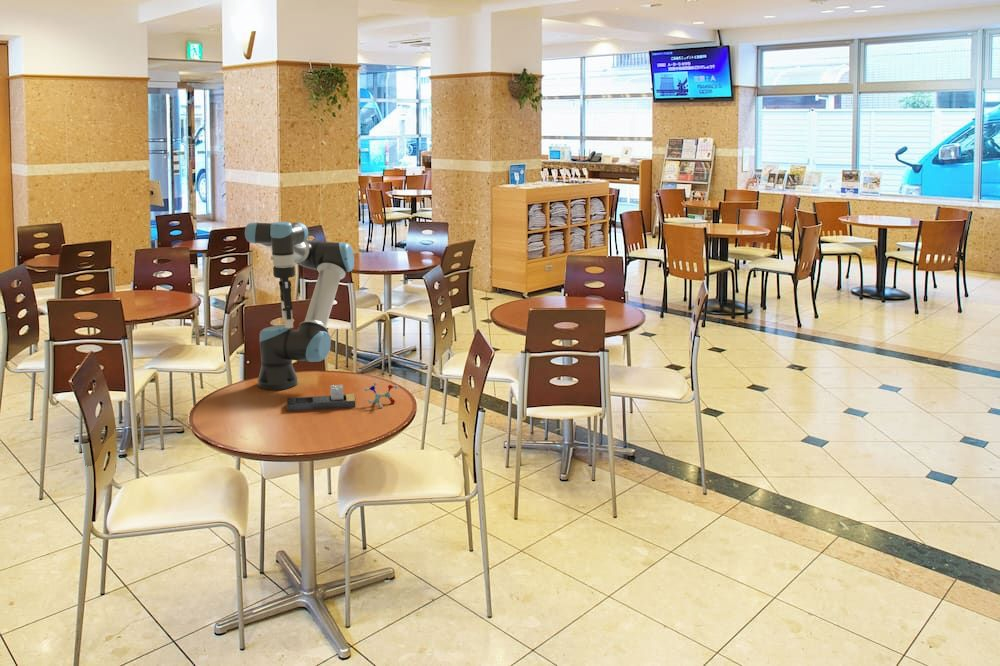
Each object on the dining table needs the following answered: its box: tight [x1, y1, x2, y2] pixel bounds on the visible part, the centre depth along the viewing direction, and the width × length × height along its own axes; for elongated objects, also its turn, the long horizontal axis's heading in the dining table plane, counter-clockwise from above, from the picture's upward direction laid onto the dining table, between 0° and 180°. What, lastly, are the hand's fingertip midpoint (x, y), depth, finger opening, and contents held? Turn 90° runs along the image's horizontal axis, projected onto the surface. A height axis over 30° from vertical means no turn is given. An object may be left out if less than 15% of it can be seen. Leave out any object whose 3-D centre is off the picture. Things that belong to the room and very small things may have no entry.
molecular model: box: [364, 381, 399, 409], centre depth 321 cm, size 12×10×10 cm
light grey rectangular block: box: [329, 384, 344, 401], centre depth 320 cm, size 4×4×7 cm
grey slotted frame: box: [286, 393, 356, 413], centre depth 319 cm, size 8×24×3 cm, turn 103°
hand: (287, 323), depth 320 cm, fingers open, 13 cm apart
